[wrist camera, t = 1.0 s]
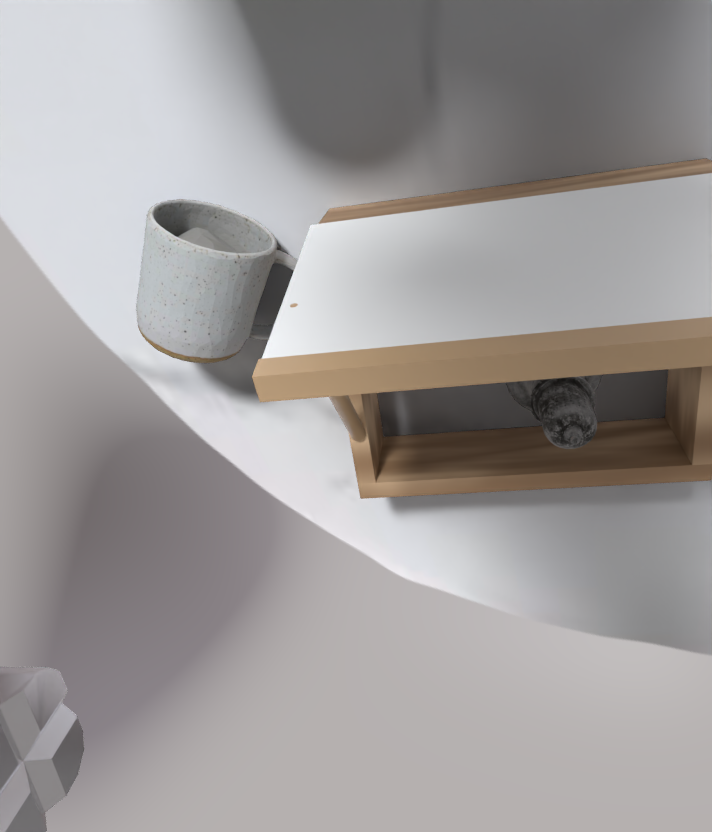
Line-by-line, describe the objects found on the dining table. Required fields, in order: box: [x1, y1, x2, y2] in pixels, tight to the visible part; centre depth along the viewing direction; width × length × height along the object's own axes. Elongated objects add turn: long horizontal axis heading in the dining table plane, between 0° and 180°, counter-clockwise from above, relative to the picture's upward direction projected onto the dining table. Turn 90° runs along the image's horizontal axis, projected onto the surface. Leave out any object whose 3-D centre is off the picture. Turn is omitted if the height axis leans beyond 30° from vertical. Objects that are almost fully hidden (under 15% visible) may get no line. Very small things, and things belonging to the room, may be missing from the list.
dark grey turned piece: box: [506, 375, 602, 449], centre depth 39 cm, size 6×6×12 cm
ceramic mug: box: [136, 199, 298, 363], centre depth 41 cm, size 11×8×8 cm
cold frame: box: [319, 158, 712, 498], centre depth 41 cm, size 18×22×6 cm
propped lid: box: [252, 173, 712, 441], centre depth 32 cm, size 14×22×15 cm, turn 99°
